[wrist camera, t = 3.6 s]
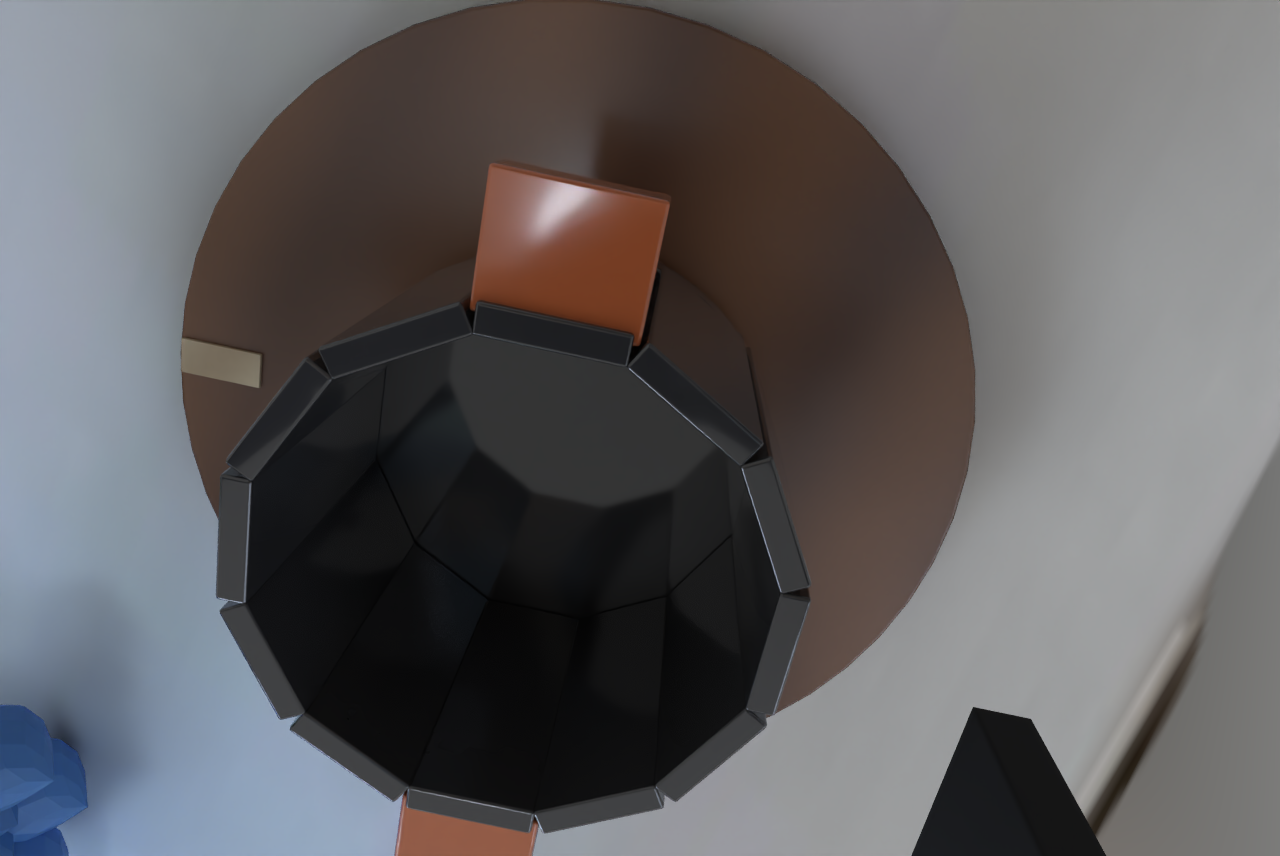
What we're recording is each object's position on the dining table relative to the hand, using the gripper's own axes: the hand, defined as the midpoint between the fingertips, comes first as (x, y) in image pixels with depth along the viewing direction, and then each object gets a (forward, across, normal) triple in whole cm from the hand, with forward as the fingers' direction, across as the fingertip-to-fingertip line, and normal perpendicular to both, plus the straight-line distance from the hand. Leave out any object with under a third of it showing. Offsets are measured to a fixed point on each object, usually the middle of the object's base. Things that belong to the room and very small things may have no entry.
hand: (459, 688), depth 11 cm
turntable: (+11, 0, 0) cm, 11 cm away
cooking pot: (+9, 0, 0) cm, 9 cm away
